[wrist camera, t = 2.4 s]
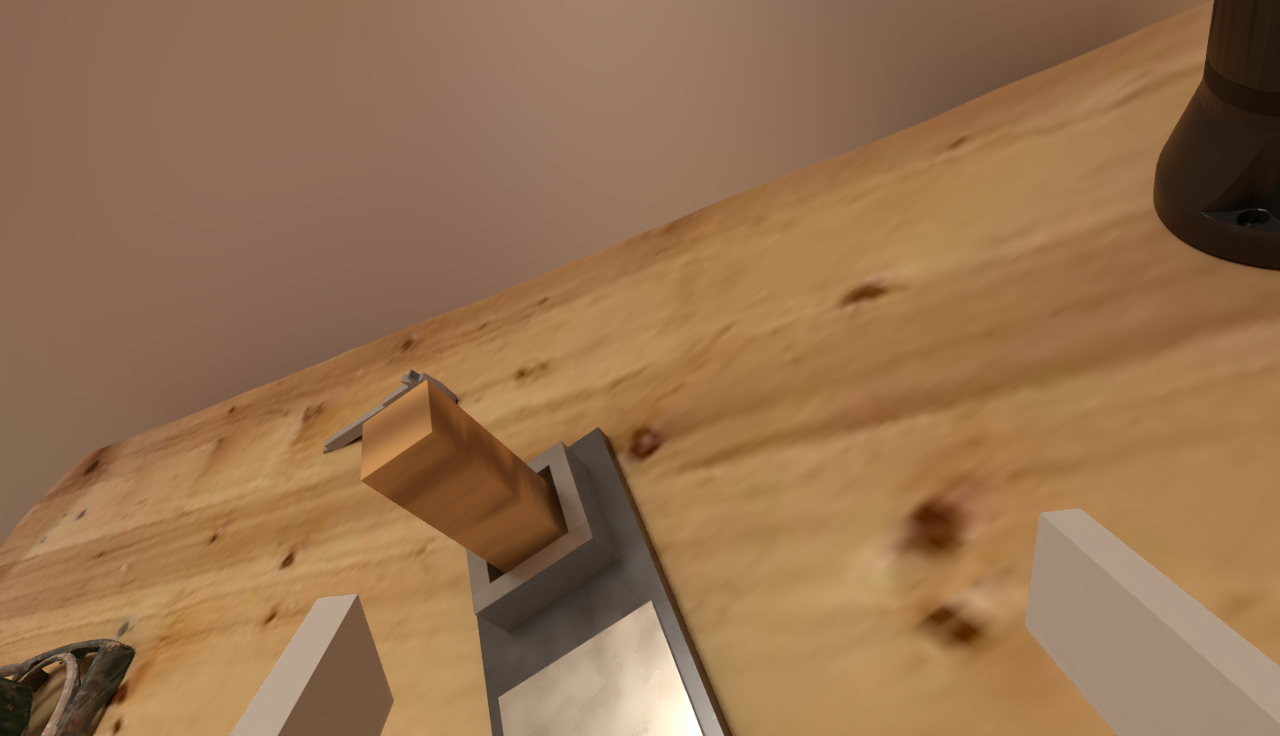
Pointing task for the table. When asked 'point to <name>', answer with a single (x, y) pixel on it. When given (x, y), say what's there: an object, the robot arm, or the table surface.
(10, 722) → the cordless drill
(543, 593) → the socket board
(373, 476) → the peg
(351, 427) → the caliper
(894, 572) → the table surface
